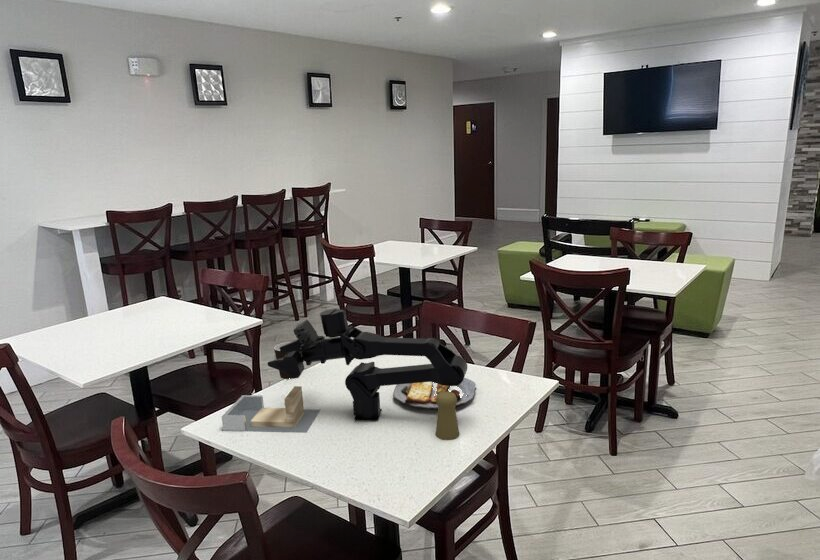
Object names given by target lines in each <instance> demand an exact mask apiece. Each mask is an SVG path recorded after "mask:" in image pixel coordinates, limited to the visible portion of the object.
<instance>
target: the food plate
mask: <svg viewBox="0 0 820 560" xmlns="http://www.w3.org/2000/svg"><path fill="white" fill-rule="evenodd" d="M433 384H434V383H433V382H421V383H410V384H398V385H395V388H394V390H393V392H392V396H393V398H394V399H395V401H398V402H400V404H403V405H406V406H408V407H409V406H410V407H414V408H423V409H432V410H435V409H436V410H438V405H437V403H436V397H437V395H438V394H439V393H440V392H444V391H448V389H449V390H450V389H451V387H450V386H446V385H440V384H437V383H436V388H437V391H436V394H437V395H436V394H435V392H434V390H433V388H434V385H433ZM476 386H477V384H476V382H475V381H473V380H472V379H469V378H466V377H464V379H463V381H462V382H461V383H460V384H459V385H457V387H459V388H460V389H461V390H462V394H463V393H464V394H463V396H462V398H460V395H459V394H461V393H460V392H461V390H458V389H459V388H458V389H455V388H453V389H451V392H452V393H454V394H455V395H456V397H457V403H456V405H455V407H458V406H461V405H465V404H467V403H468V402H470V401H472V400H473V398H474V395H475V390H476ZM432 387H433V388H432ZM436 388H435V389H436ZM434 394H435V396H434ZM466 395H467V396H466Z"/></svg>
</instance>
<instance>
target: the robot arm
mask: <svg viewBox="0 0 820 560" xmlns="http://www.w3.org/2000/svg"><path fill="white" fill-rule="evenodd" d="M319 315H320V316H319V317H320V321H321V325H322V329H323V335H318V333H317V331H316V329H315V328H314V327H313V325H312V323H311V322H310V321H309V320H308V319H306V320H304V321H302V322H300V323H299V324H297V325H296V326H295V327H294V329H293V333H294V335H295V337H296V339H295V340H293V341H290V342H291V343H288V344H286V345H284V346H281V347H280V351H283V352H288V353H287V354H286V355H285V357H284V358H280V359H276V358H275V359H274V360H273V359H272V360H270V361H267V367H269V368H273V369H275V370H277V371H279V370H280V371H282V372H285V373H287V374H288V375H289V376H290V378H291V379H290V380H292V379H299V378H300V376H301V375H302V373H303V372H304V370H305V369H306V368H305V364H304V362H305V363H306V366H311V365H312V363H314V362H320V363H321V364H322V365H323V364H325V363H326V362H327V361H332V360H337V359H338V360H339V359H344V360H345V365H346V366H350V365H351V362H352V361H353V360H367V359H372V358H376V357H380V356H406V357H408V356H409V357H425V358H426V359H427V360H429V362H430V363H426V364H416V365H406V366H396V367H393V366H392V367H384V368H383V367H382V368H380V367H378V366H375V365H376V364H375V363H376V362H375V361H369V362H362V361H361V362H360V363H359V364H358V365H356V366H355V367H354V368H353V369H352V370H351V372H350V373H349V374H348V375H347V376H346V377H345V381H344V385H345V387H346V389H347V391H349V393H350V395H351V398H352V407H353V409H352V410H353V416H354V421H357V422H360V421H361V422H378V421H379V419H380V416H381V414H382V412H383V411H382V408H381V400H380V392H379V390H380V389H381V387H384V386H393V385H394V386H396V385H398V384H410V383H421V382H434V383H433V384H436V385H437V384H440V385H446V386H451V387H456V386H457V385H459V384H460V383H461V382H462V381H463V379H464V377H465V376H466V373H467V371H468V363H467V361H466V359H464V358H463V357H462V356H460V355H457V354H456V353H455V352H454V351H453V350H452V349H450V347H449V348H448V347H447V346H445V345H444V344H442V343H441V342H440V341H439V339H436V338H434V337H429V338H415V337H385V336H383V335H381V334H377V333H373V332H368V331H362V330H360V329H359V328H357V327H355V326H353V325H350V326H349V323H348V319H347V318H348V317H347V311H346V310H345V309H341V308H340V309H339V308H335V307H334V308H330V309H327V310H323V311H321V312H320V313H319ZM324 335H325V336H324ZM352 337H353V338H352ZM465 378H466V377H465Z"/></svg>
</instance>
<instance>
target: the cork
mask: <svg viewBox="0 0 820 560" xmlns="http://www.w3.org/2000/svg"><path fill="white" fill-rule="evenodd" d="M436 403H437V405H438V409H437V415H436V416H437V417H436V425H435V433H434V434H435V437H436V438H438V439H440V440H441V441H452V440H456V439H458V438H459V437H460V429H459V423H458V416H457V411H456V406H455V405H456V403H457V397H456V395H455V394H454V393H452V392H449V391H444V392H440V393H439V394H438V395H437V397H436Z"/></svg>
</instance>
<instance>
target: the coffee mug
mask: <svg viewBox="0 0 820 560" xmlns="http://www.w3.org/2000/svg"><path fill="white" fill-rule="evenodd" d="M291 342H292V341H286V342H281V343H278V344H276V345H275V346H274V347H273V350H274V355H275V360H276V359H280V358H284V357H285V355H286V354H287V353H288V352H283V351H280V347H281V346H284V345H286V344H288V343H291ZM278 372H279V377H280V378H281V379H283V380H292V379H291V378H290V376H289V375H288V374H287V373H285V372H282V371H280V370H278ZM289 378H290V379H289Z"/></svg>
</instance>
